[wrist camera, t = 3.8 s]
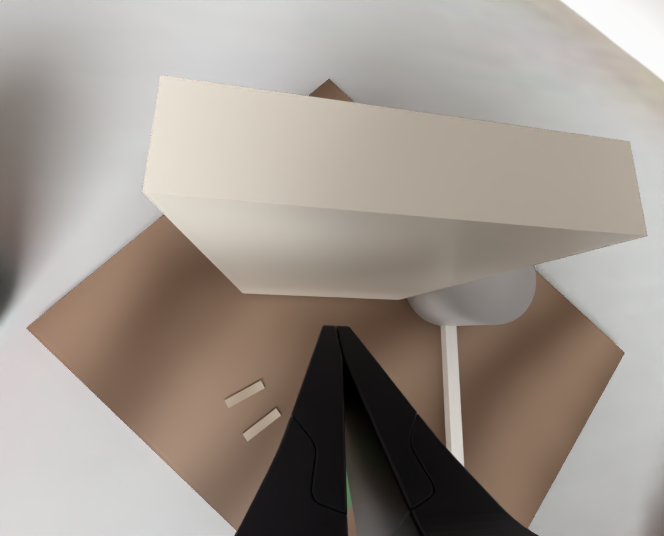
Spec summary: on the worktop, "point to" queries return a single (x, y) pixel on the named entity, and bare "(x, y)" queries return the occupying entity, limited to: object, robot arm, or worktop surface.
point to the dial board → (292, 362)
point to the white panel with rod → (383, 203)
